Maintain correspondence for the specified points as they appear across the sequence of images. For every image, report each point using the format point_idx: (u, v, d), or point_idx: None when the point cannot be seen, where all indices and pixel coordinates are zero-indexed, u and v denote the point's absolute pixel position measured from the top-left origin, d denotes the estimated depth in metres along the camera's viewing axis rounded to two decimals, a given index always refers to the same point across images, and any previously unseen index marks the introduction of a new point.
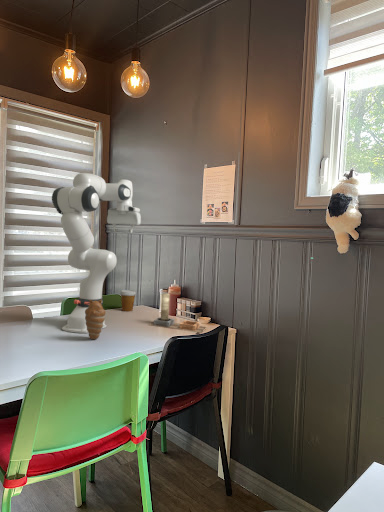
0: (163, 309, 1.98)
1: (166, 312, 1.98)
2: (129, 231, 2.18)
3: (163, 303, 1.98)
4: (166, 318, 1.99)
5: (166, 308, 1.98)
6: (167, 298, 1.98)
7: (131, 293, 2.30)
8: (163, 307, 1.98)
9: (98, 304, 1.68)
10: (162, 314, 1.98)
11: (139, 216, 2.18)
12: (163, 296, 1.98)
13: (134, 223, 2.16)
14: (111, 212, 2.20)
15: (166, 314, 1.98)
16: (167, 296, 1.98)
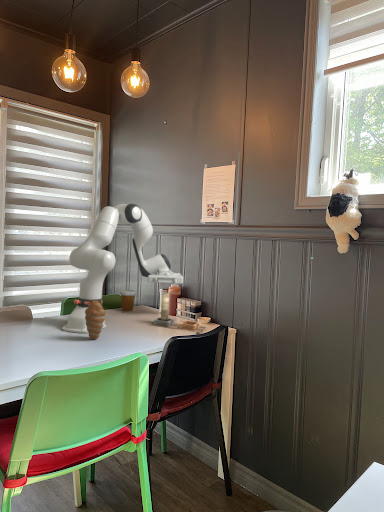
0: (163, 309, 1.98)
1: (166, 312, 1.98)
2: (173, 279, 2.12)
3: (163, 303, 1.98)
4: (166, 318, 1.99)
5: (166, 308, 1.98)
6: (167, 298, 1.98)
7: (131, 293, 2.30)
8: (163, 307, 1.98)
9: (98, 304, 1.68)
10: (162, 314, 1.98)
11: None
12: (163, 296, 1.98)
13: (179, 277, 2.17)
14: None
15: (166, 314, 1.98)
16: (167, 296, 1.98)
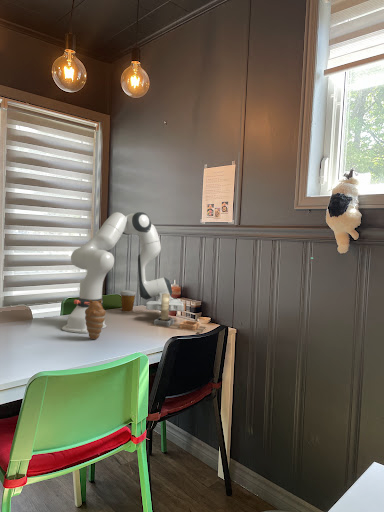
0: (163, 309, 1.98)
1: (166, 312, 1.98)
2: (169, 307, 2.00)
3: (163, 303, 1.98)
4: (166, 318, 1.99)
5: (166, 308, 1.98)
6: (167, 298, 1.98)
7: (131, 293, 2.30)
8: (163, 307, 1.98)
9: (98, 304, 1.68)
10: (162, 314, 1.98)
11: None
12: (163, 296, 1.98)
13: (179, 304, 2.05)
14: (151, 301, 2.09)
15: (166, 314, 1.98)
16: (167, 296, 1.98)
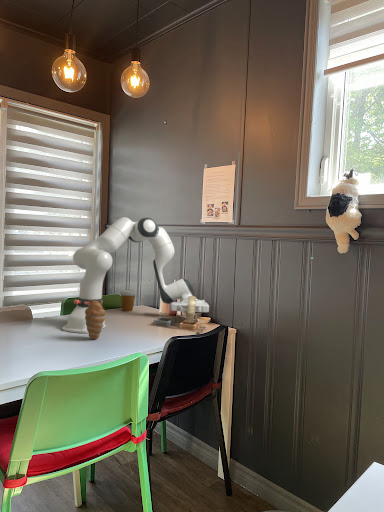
0: (189, 312, 1.94)
1: (192, 315, 1.94)
2: (197, 308, 1.96)
3: (189, 306, 1.94)
4: (192, 321, 1.95)
5: (192, 311, 1.94)
6: (194, 301, 1.94)
7: (131, 293, 2.30)
8: (189, 310, 1.94)
9: (98, 304, 1.68)
10: (188, 317, 1.94)
11: None
12: (190, 299, 1.94)
13: (204, 305, 2.01)
14: (176, 302, 2.05)
15: (192, 317, 1.94)
16: (194, 299, 1.94)
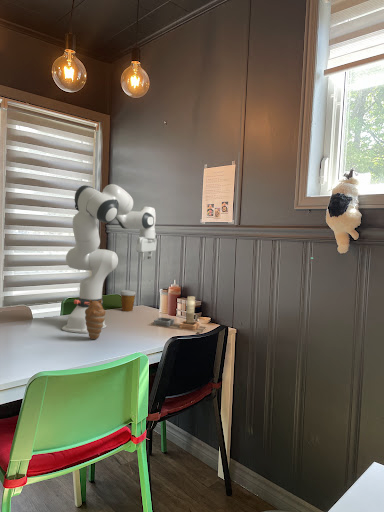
0: (189, 312, 1.94)
1: (192, 315, 1.94)
2: (150, 258, 2.22)
3: (189, 306, 1.94)
4: (192, 321, 1.95)
5: (192, 311, 1.94)
6: (193, 301, 1.94)
7: (131, 293, 2.30)
8: (189, 310, 1.94)
9: (98, 304, 1.68)
10: (188, 317, 1.94)
11: None
12: (189, 299, 1.94)
13: (154, 249, 2.25)
14: (144, 240, 2.10)
15: (192, 317, 1.94)
16: (193, 299, 1.94)
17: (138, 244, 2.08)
